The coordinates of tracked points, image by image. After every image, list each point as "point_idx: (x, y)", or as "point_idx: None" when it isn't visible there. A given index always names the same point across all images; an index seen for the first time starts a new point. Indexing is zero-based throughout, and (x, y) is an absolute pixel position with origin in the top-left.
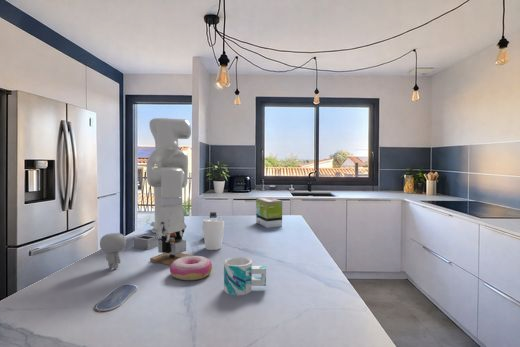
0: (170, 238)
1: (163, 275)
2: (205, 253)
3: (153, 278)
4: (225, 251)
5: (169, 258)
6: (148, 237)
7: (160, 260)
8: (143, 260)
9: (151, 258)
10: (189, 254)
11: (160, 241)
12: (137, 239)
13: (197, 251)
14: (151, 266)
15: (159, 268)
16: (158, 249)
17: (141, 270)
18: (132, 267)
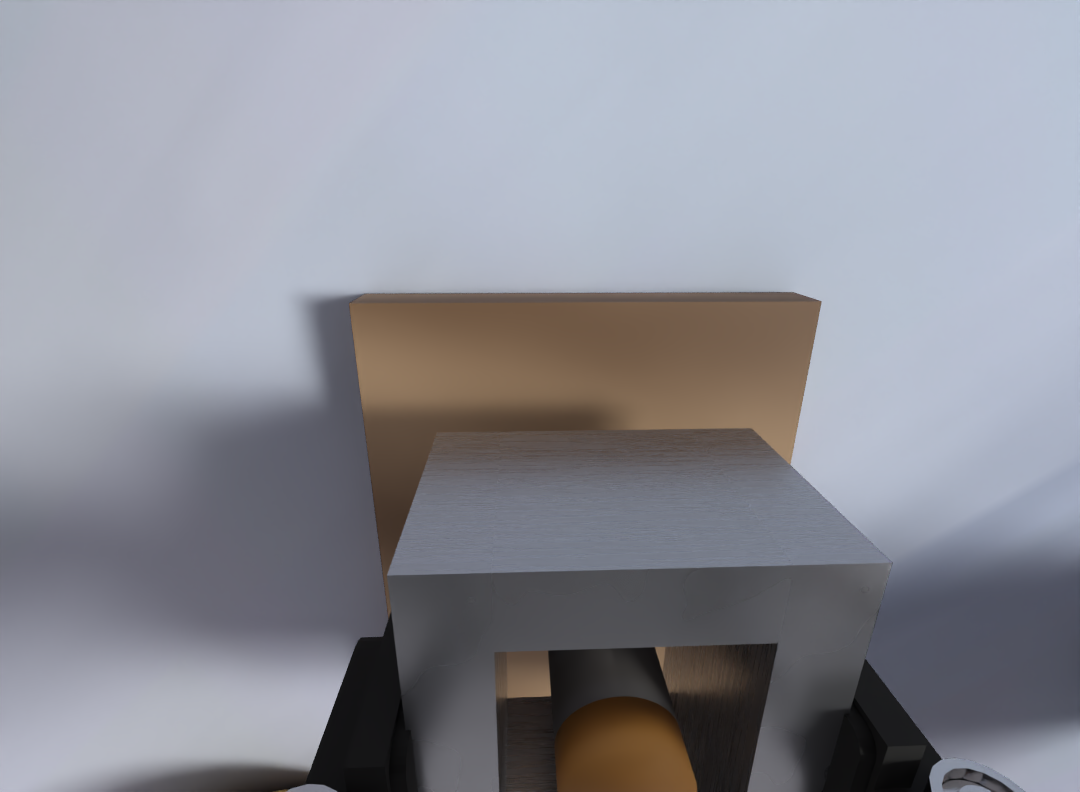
0: (842, 624)
1: (139, 737)
2: (940, 675)
3: (17, 717)
4: (1052, 787)
5: None
6: None
7: (375, 501)
8: (341, 138)
9: (352, 330)
10: None
11: (430, 618)
12: None
13: (1010, 560)
14: (232, 460)
15: (248, 586)
16: (429, 459)
17: (48, 458)
18: (13, 251)
